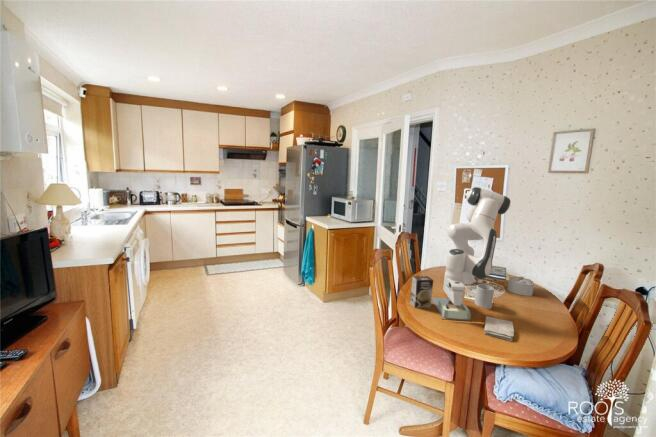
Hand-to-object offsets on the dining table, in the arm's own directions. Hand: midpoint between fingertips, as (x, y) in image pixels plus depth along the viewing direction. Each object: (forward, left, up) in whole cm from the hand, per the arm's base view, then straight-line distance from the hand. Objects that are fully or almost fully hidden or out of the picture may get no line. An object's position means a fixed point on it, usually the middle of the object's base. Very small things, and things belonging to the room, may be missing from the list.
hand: (450, 305), depth 162 cm
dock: (-1, 0, -3) cm, 3 cm away
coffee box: (-2, -15, -3) cm, 15 cm away
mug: (-10, +21, -3) cm, 24 cm away
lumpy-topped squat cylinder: (-34, +52, -3) cm, 63 cm away
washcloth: (+16, +17, -4) cm, 24 cm away
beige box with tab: (+6, 0, -2) cm, 6 cm away
